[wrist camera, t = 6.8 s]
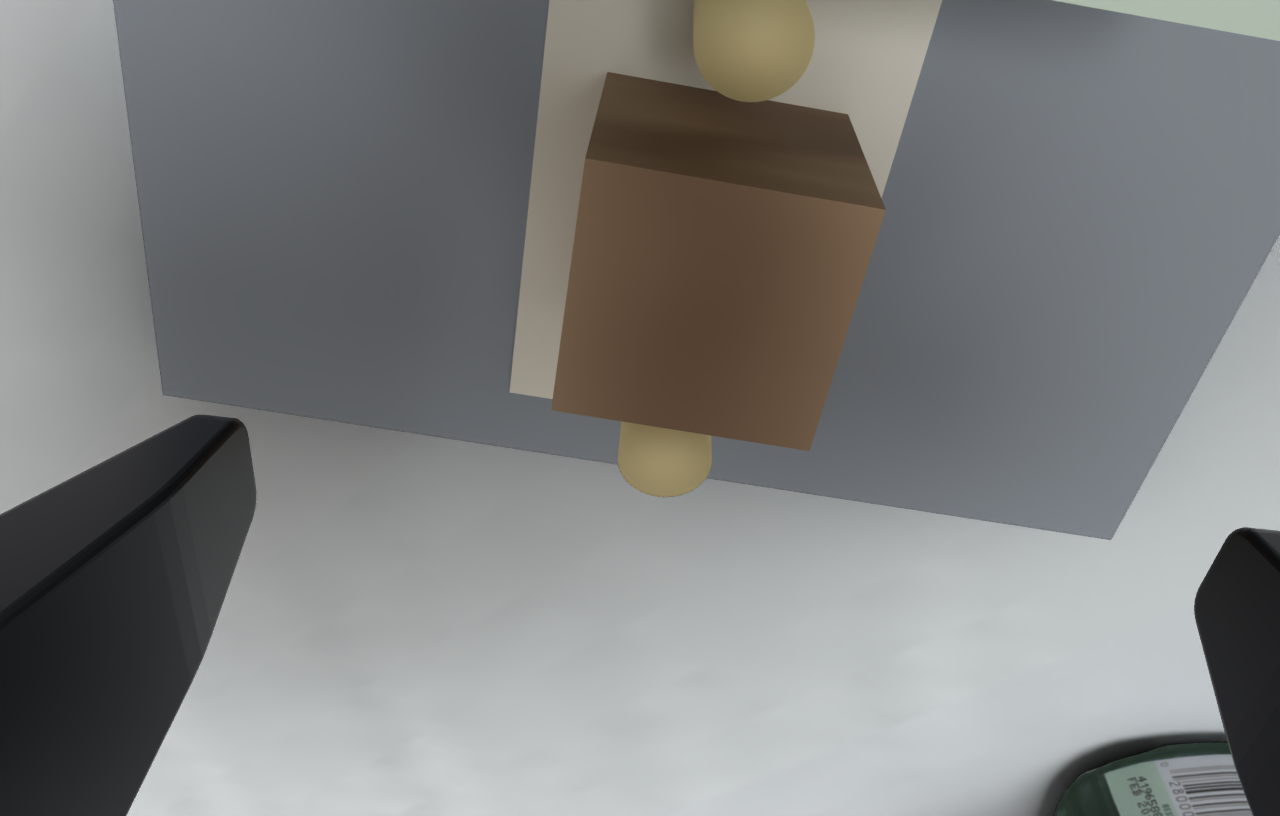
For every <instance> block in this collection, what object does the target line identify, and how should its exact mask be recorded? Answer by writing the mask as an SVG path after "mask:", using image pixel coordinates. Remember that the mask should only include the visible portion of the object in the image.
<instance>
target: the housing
mask: <svg viewBox="0 0 1280 816" xmlns="http://www.w3.org/2000/svg"><path fill="white" fill-rule="evenodd" d="M1053 1H1059V2H1064V3H1070V4H1076V5H1081V6H1087V7H1092V8H1098V9H1103V10H1109V11H1115V12H1120V13H1126V14H1131V15H1137V16H1142V17H1148V18H1154V19H1159V20H1165V21H1170V22H1176V23H1181V24H1187V25H1192V26H1198V27H1204V28H1209V29H1215V30H1220V31H1226V32H1231V33H1237V34H1243V35H1248V36H1254V37H1259V38H1265V39H1270V40H1276V41H1280V0H1053Z"/></svg>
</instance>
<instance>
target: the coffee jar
mask: <svg viewBox="0 0 1280 816" xmlns="http://www.w3.org/2000/svg"><path fill="white" fill-rule="evenodd" d="M1054 816H1253V815H1252V812H1251V810H1250V807H1249V805H1248V802H1247V799H1246V797H1245V794H1244V791H1243V788H1242V786H1241V783H1240V780H1239V777H1238V774H1237V771H1236V769H1235V765H1234V762H1233V759H1232V755H1231V752H1230V749H1229V745H1228V743H1191V744H1176V745H1168V746H1163V747H1159V748H1156V749H1153V750H1150V751H1147V752H1144V753H1141V754H1138V755H1134V756H1130V757H1127V758H1123V759H1120V760H1117V761H1114V762H1112V763H1109V764H1107V765H1104V766H1102V767H1099V768H1096V769H1093V770H1090V771H1087V772H1085V773H1083V774H1081V775H1080V776H1079V777H1078V778H1077V779H1076V780H1075V781H1073V782H1072V784H1071V785H1070V786H1069V787H1068V789H1067V790H1066V791H1065V793H1064V795H1063V796H1062V798H1061V800H1060V802H1059V804H1058V806H1057V808H1056V811H1055V813H1054Z"/></svg>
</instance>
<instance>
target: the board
mask: <svg viewBox="0 0 1280 816" xmlns="http://www.w3.org/2000/svg"><path fill="white" fill-rule="evenodd" d="M113 3H114V11H115V19H116V27H117V34H118V42H119V50H120V58H121V66H122V74H123V82H124V90H125V98H126V106H127V113H128V121H129V129H130V137H131V145H132V153H133V161H134V169H135V177H136V185H137V193H138V200H139V208H140V216H141V224H142V232H143V240H144V248H145V256H146V264H147V272H148V280H149V287H150V295H151V303H152V311H153V319H154V327H155V335H156V343H157V351H158V359H159V367H160V374H161V382H162V390H163V395H168V396H174V397H181V398H187V399H194V400H200V401H207V402H214V403H220V404H227V405H233V406H240V407H246V408H253V409H259V410H266V411H272V412H279V413H285V414H292V415H298V416H305V417H311V418H318V419H324V420H331V421H338V422H344V423H351V424H357V425H364V426H370V427H377V428H383V429H390V430H396V431H403V432H409V433H416V434H422V435H429V436H435V437H442V438H449V439H455V440H462V441H468V442H475V443H481V444H488V445H494V446H501V447H507V448H514V449H520V450H527V451H533V452H540V453H546V454H553V455H559V456H566V457H573V458H579V459H586V460H592V461H599V462H605V463H612V464H618V466H619V469H620V472H621V474H622V475H623V477H624V478H625V480H626V481H627V482H628V483H629V484H630V485H631V486H633V487H634V488H636V489H637V490H639V491H641V492H643V493H645V494H649V495H652V496H657V497H674V496H679V495H682V494H686V493H688V492H690V491H692V490H694V489H695V488H697V487H698V486H699V485H700V484H701V483H702V482H703V481H704V480H705V479H706V478H710V479H716V480H723V481H729V482H736V483H742V484H749V485H755V486H762V487H768V488H775V489H781V490H788V491H794V492H801V493H807V494H814V495H821V496H827V497H834V498H840V499H847V500H853V501H860V502H866V503H873V504H879V505H886V506H892V507H899V508H905V509H912V510H918V511H925V512H931V513H938V514H945V515H951V516H958V517H964V518H971V519H977V520H984V521H990V522H997V523H1003V524H1010V525H1016V526H1023V527H1029V528H1036V529H1042V530H1049V531H1055V532H1062V533H1069V534H1075V535H1082V536H1088V537H1095V538H1101V539H1108V540H1111V539H1112V537H1113V535H1114V534H1115V532H1116V530H1117V528H1118V526H1119V524H1120V523H1121V521H1122V519H1123V517H1124V515H1125V514H1126V512H1127V510H1128V508H1129V506H1130V505H1131V503H1132V501H1133V499H1134V497H1135V495H1136V494H1137V492H1138V490H1139V488H1140V486H1141V485H1142V483H1143V481H1144V479H1145V477H1146V476H1147V474H1148V472H1149V470H1150V468H1151V466H1152V465H1153V463H1154V461H1155V459H1156V457H1157V456H1158V454H1159V452H1160V450H1161V448H1162V447H1163V445H1164V443H1165V441H1166V439H1167V437H1168V436H1169V434H1170V432H1171V430H1172V428H1173V427H1174V425H1175V423H1176V421H1177V419H1178V417H1179V416H1180V414H1181V412H1182V410H1183V408H1184V407H1185V405H1186V403H1187V401H1188V399H1189V398H1190V396H1191V394H1192V392H1193V390H1194V388H1195V387H1196V385H1197V383H1198V381H1199V379H1200V378H1201V376H1202V374H1203V372H1204V370H1205V369H1206V367H1207V365H1208V363H1209V361H1210V359H1211V358H1212V356H1213V354H1214V352H1215V350H1216V349H1217V347H1218V345H1219V343H1220V341H1221V340H1222V338H1223V336H1224V334H1225V332H1226V330H1227V329H1228V327H1229V325H1230V323H1231V321H1232V320H1233V318H1234V316H1235V314H1236V312H1237V310H1238V309H1239V307H1240V305H1241V303H1242V301H1243V300H1244V298H1245V296H1246V294H1247V292H1248V291H1249V289H1250V287H1251V285H1252V283H1253V281H1254V280H1255V278H1256V276H1257V274H1258V272H1259V271H1260V269H1261V267H1262V265H1263V263H1264V262H1265V260H1266V258H1267V256H1268V254H1269V252H1270V251H1271V249H1272V247H1273V245H1274V243H1275V242H1276V240H1277V238H1278V236H1279V234H1280V41H1276V40H1270V39H1265V38H1259V37H1254V36H1248V35H1243V34H1237V33H1231V32H1226V31H1220V30H1215V29H1209V28H1204V27H1198V26H1192V25H1187V24H1181V23H1176V22H1170V21H1165V20H1159V19H1154V18H1148V17H1142V16H1137V15H1131V14H1126V13H1120V12H1115V11H1109V10H1103V9H1098V8H1092V7H1087V6H1081V5H1076V4H1070V3H1064V2H1059V1H1053V0H113ZM607 72H611V73H617V74H622V75H628V76H634V77H639V78H645V79H651V80H656V81H662V82H668V83H673V84H679V85H685V86H691V87H696V88H702V89H708V90H713V91H718V92H719V93H720V94H722V95H724V96H726V97H728V98H731V99H733V100H737V101H741V102H760V101H765V100H770V101H776V102H781V103H787V104H793V105H798V106H804V107H810V108H815V109H821V110H827V111H832V112H838V113H844V114H848V115H849V118H850V121H851V123H852V126H853V128H854V131H855V133H856V136H857V138H858V141H859V143H860V146H861V148H862V151H863V153H864V156H865V158H866V161H867V163H868V166H869V169H870V171H871V174H872V176H873V179H874V181H875V184H876V186H877V189H878V191H879V194H880V196H881V199H882V201H883V204H884V206H885V209H886V211H885V214H884V217H883V220H882V224H881V227H880V230H879V233H878V236H877V239H876V243H875V246H874V249H873V252H872V255H871V258H870V262H869V265H868V268H867V271H866V274H865V277H864V281H863V284H862V287H861V290H860V293H859V296H858V299H857V303H856V306H855V309H854V312H853V315H852V318H851V322H850V325H849V328H848V331H847V334H846V337H845V341H844V344H843V347H842V350H841V353H840V356H839V360H838V363H837V366H836V369H835V372H834V375H833V379H832V382H831V385H830V388H829V391H828V394H827V398H826V401H825V404H824V407H823V410H822V413H821V416H820V420H819V423H818V426H817V429H816V432H815V435H814V439H813V442H812V445H811V448H810V451H805V450H799V449H793V448H786V447H780V446H774V445H767V444H761V443H755V442H748V441H742V440H736V439H729V438H723V437H717V436H710V435H704V434H698V433H692V432H685V431H679V430H673V429H666V428H660V427H654V426H647V425H641V424H635V423H628V422H622V421H616V420H610V419H603V418H597V417H591V416H584V415H578V414H572V413H565V412H559V411H553V410H551V407H552V400H553V392H554V385H555V377H556V370H557V363H558V355H559V348H560V340H561V333H562V326H563V318H564V311H565V304H566V296H567V289H568V281H569V274H570V267H571V259H572V252H573V244H574V237H575V230H576V222H577V215H578V207H579V200H580V193H581V185H582V178H583V171H584V163H585V157H586V153H587V149H588V145H589V141H590V137H591V134H592V130H593V126H594V122H595V118H596V114H597V110H598V106H599V102H600V99H601V95H602V91H603V87H604V83H605V79H606V75H607Z"/></svg>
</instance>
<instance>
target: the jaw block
mask: <svg viewBox="0 0 1280 816" xmlns="http://www.w3.org/2000/svg"><path fill="white" fill-rule="evenodd" d="M885 211H886V209H885V206H884V204H883V201H882V199H881V196H880V194H879V191H878V189H877V186H876V184H875V181H874V179H873V176H872V174H871V171H870V169H869V166H868V163H867V161H866V158H865V156H864V153H863V151H862V148H861V146H860V143H859V141H858V138H857V136H856V133H855V131H854V128H853V126H852V123H851V121H850V118H849V115H848V114H844V113H838V112H832V111H827V110H821V109H815V108H810V107H804V106H798V105H793V104H787V103H781V102H776V101H770V100H765V101H760V102H741V101H737V100H733V99H731V98H728V97H726V96H724V95H722V94H720V93H719V92H718V91H713V90H708V89H702V88H696V87H691V86H685V85H679V84H673V83H668V82H662V81H656V80H651V79H645V78H639V77H634V76H628V75H622V74H617V73H611V72H607V75H606V79H605V83H604V87H603V91H602V95H601V99H600V102H599V106H598V110H597V114H596V118H595V122H594V126H593V130H592V134H591V137H590V141H589V145H588V149H587V153H586V157H585V163H584V171H583V178H582V185H581V193H580V200H579V207H578V215H577V222H576V230H575V237H574V244H573V252H572V259H571V267H570V274H569V281H568V289H567V296H566V304H565V311H564V318H563V326H562V333H561V340H560V348H559V355H558V363H557V370H556V377H555V385H554V392H553V400H552V407H551V410H553V411H559V412H565V413H572V414H578V415H584V416H591V417H597V418H603V419H610V420H616V421H622V422H628V423H635V424H641V425H647V426H654V427H660V428H666V429H673V430H679V431H685V432H692V433H698V434H704V435H710V436H717V437H723V438H729V439H736V440H742V441H748V442H755V443H761V444H767V445H774V446H780V447H786V448H793V449H799V450H805V451H810V448H811V445H812V442H813V439H814V435H815V432H816V429H817V426H818V423H819V420H820V416H821V413H822V410H823V407H824V404H825V401H826V398H827V394H828V391H829V388H830V385H831V382H832V379H833V375H834V372H835V369H836V366H837V363H838V360H839V356H840V353H841V350H842V347H843V344H844V341H845V337H846V334H847V331H848V328H849V325H850V322H851V318H852V315H853V312H854V309H855V306H856V303H857V299H858V296H859V293H860V290H861V287H862V284H863V281H864V277H865V274H866V271H867V268H868V265H869V262H870V258H871V255H872V252H873V249H874V246H875V243H876V239H877V236H878V233H879V230H880V227H881V224H882V220H883V217H884V214H885Z"/></svg>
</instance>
